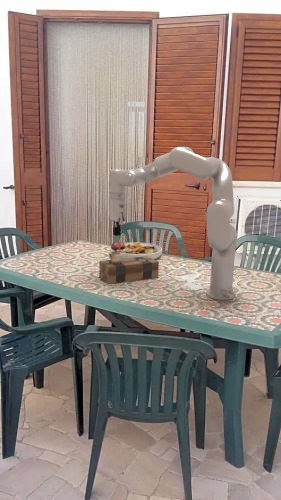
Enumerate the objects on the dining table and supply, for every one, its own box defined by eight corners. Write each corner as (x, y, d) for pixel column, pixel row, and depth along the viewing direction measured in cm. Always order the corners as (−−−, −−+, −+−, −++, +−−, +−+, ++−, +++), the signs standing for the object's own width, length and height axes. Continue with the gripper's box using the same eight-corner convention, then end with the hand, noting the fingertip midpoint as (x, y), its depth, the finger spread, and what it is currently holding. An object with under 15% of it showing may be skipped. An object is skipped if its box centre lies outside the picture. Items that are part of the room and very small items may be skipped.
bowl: (163, 251, 273) (163, 238, 271) (160, 264, 244) (161, 250, 242) (114, 249, 275) (114, 236, 274) (105, 262, 246) (105, 248, 245)
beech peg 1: (121, 268, 214) (121, 252, 212) (113, 269, 212) (113, 253, 210) (117, 266, 217) (118, 250, 216) (110, 267, 216) (110, 251, 214)
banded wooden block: (158, 277, 220) (158, 261, 218) (108, 284, 208) (108, 267, 206) (147, 271, 230) (147, 256, 228) (99, 276, 219) (99, 260, 217)
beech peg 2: (147, 275, 221) (147, 260, 219) (139, 276, 220) (140, 261, 218) (143, 273, 225) (144, 258, 223) (136, 274, 223) (136, 259, 221)
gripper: (131, 198, 202) (130, 238, 206) (118, 193, 215) (117, 231, 219) (116, 198, 199) (115, 239, 203) (103, 194, 212) (103, 232, 216)
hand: (116, 235), depth 211 cm, fingers closed
